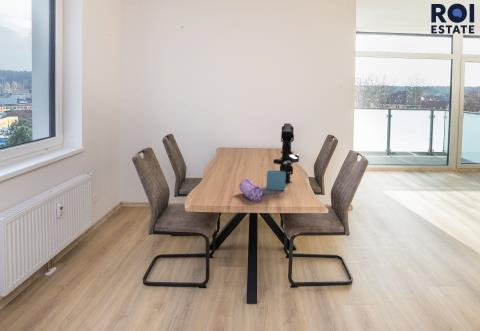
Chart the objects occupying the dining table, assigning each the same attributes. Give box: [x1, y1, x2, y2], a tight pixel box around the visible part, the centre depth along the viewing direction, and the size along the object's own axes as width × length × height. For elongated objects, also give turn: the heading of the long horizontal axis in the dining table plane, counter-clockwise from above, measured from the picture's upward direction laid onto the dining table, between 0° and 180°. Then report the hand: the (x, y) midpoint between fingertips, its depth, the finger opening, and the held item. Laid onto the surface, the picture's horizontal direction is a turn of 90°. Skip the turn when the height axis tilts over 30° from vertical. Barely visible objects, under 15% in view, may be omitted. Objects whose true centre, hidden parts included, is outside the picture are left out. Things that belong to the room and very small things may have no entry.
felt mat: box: [260, 187, 282, 196], centre depth 281 cm, size 12×16×1 cm
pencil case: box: [238, 177, 265, 202], centre depth 265 cm, size 22×9×10 cm, turn 19°
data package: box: [265, 169, 286, 191], centre depth 286 cm, size 12×4×12 cm, turn 85°
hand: (285, 173), depth 291 cm, fingers closed
